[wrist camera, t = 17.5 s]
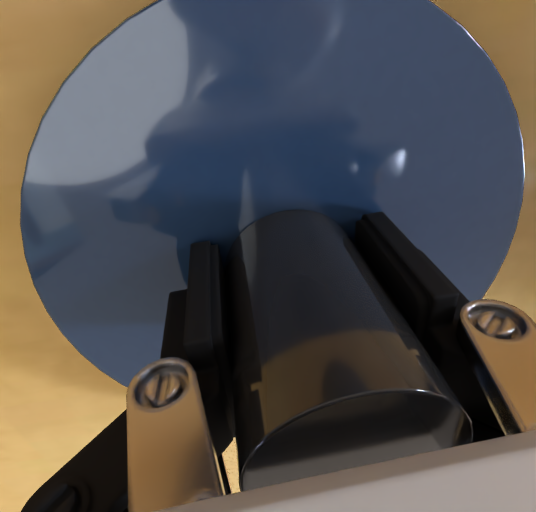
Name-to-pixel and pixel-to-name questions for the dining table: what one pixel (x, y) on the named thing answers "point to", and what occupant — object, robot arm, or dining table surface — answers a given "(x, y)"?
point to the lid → (278, 208)
